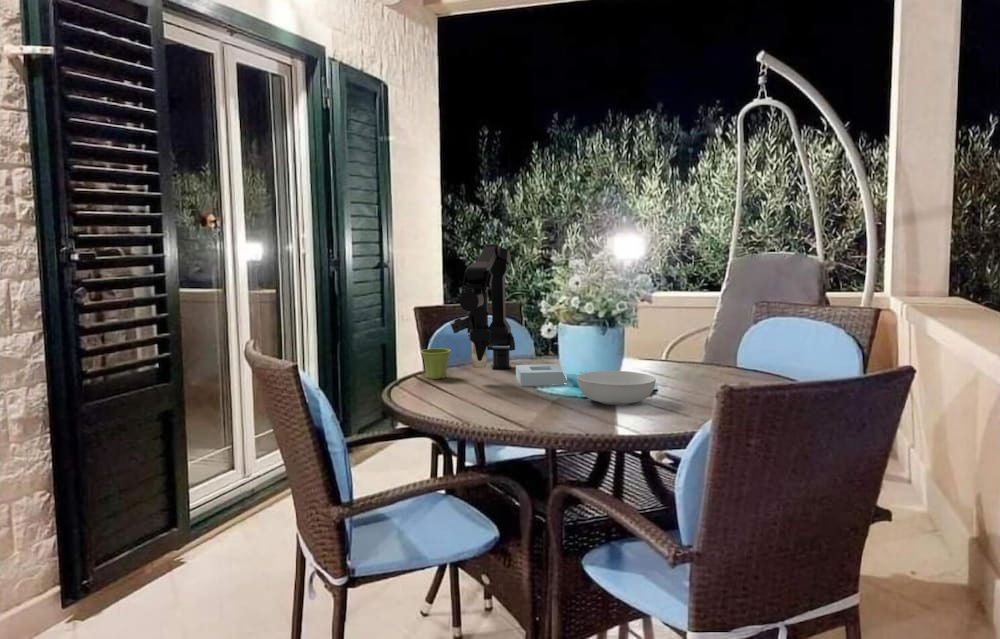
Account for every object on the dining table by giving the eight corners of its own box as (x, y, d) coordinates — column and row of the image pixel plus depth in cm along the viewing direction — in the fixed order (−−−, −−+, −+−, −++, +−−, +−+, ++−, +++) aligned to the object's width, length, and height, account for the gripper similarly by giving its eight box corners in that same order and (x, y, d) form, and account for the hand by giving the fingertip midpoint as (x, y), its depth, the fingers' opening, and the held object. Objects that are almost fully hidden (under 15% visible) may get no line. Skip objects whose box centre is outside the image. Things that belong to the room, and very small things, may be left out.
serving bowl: (637, 413, 200) (637, 387, 200) (563, 405, 211) (563, 379, 211) (666, 398, 218) (667, 374, 217) (597, 391, 229) (597, 367, 228)
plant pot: (447, 380, 248) (446, 353, 247) (418, 380, 249) (417, 352, 248) (454, 375, 257) (453, 348, 256) (425, 374, 259) (425, 348, 258)
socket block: (515, 377, 251) (515, 365, 251) (559, 376, 252) (559, 364, 252) (520, 386, 237) (520, 372, 237) (567, 384, 239) (567, 371, 238)
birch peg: (471, 365, 244) (471, 339, 243) (485, 365, 244) (485, 339, 243) (472, 368, 239) (471, 341, 238) (486, 367, 240) (486, 341, 239)
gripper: (450, 305, 248) (451, 355, 250) (452, 311, 230) (453, 365, 232) (486, 305, 249) (487, 354, 251) (490, 311, 231) (491, 364, 232)
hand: (479, 359), depth 241 cm, fingers closed on birch peg, 4 cm apart
